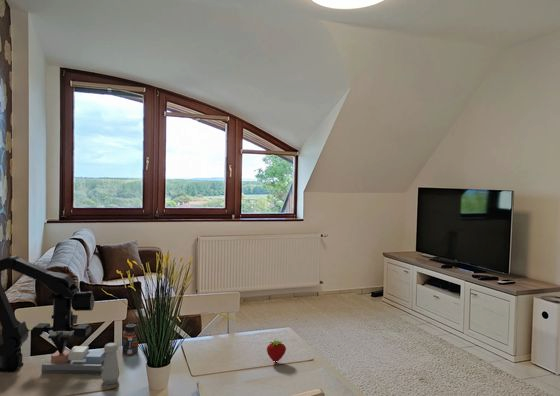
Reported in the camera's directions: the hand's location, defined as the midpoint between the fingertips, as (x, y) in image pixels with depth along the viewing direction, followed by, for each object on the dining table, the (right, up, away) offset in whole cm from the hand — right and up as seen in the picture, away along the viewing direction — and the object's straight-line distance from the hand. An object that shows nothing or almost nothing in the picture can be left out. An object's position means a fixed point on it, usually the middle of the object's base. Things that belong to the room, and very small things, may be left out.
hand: (61, 353), depth 154 cm
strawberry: (+77, -8, +11) cm, 78 cm away
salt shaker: (+21, -6, -9) cm, 24 cm away
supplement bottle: (+20, -5, +14) cm, 25 cm away
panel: (+6, -5, +1) cm, 8 cm away
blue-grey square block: (+12, -3, +1) cm, 12 cm away
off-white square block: (+6, -2, 0) cm, 6 cm away
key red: (0, -3, 0) cm, 3 cm away
